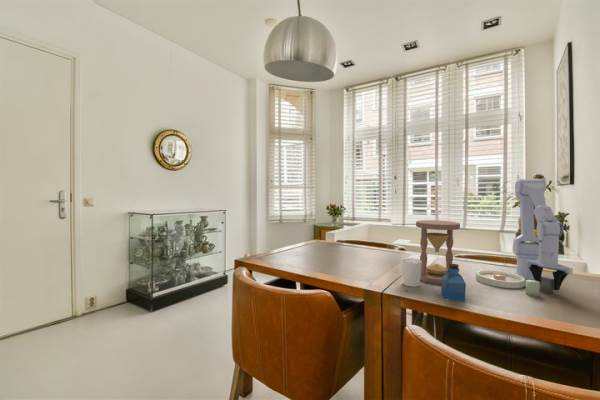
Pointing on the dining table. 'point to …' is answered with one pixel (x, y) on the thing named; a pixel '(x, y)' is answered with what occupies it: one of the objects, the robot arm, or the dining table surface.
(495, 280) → the groove tray
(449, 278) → the perfume bottle
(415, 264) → the white cup
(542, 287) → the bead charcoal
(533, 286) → the pale green rounded block
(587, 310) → the dining table surface
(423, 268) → the hourglass
